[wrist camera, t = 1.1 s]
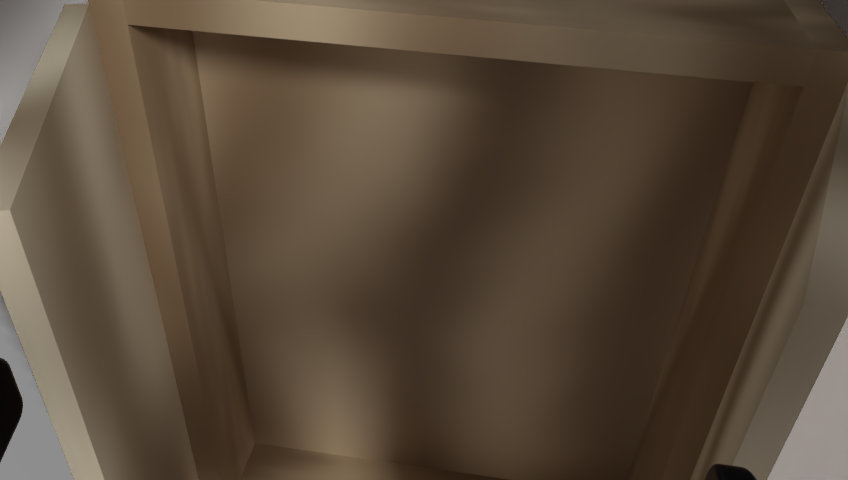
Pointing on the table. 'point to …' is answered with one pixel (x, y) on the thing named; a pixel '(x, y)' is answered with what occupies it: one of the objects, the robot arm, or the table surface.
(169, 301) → the carton
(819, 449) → the table surface
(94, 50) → the flap
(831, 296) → the flap
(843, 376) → the table surface
